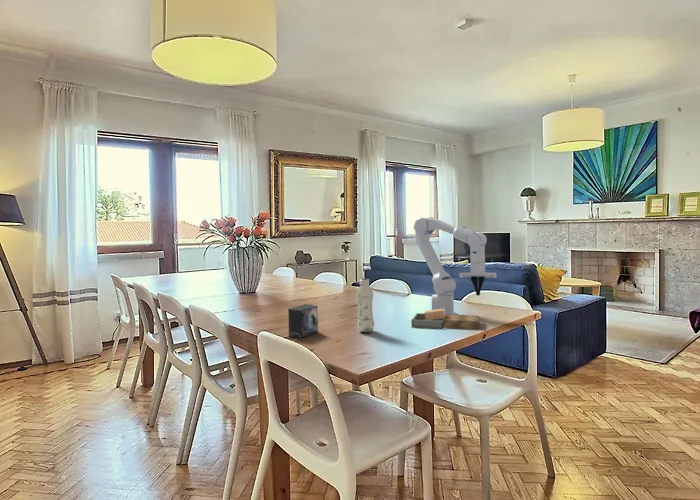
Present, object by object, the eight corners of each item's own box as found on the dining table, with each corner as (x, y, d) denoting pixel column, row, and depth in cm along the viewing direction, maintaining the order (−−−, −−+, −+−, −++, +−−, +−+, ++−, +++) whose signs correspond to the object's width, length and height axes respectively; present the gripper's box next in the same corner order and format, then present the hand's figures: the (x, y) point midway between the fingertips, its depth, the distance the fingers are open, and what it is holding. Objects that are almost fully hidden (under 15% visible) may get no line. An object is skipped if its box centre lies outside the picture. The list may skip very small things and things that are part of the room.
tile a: (433, 319, 171) (432, 311, 171) (434, 316, 175) (433, 309, 175) (444, 318, 170) (443, 310, 170) (445, 315, 174) (444, 308, 174)
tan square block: (433, 323, 171) (426, 323, 172) (435, 320, 176) (427, 321, 177) (432, 312, 171) (424, 312, 172) (433, 309, 176) (426, 310, 177)
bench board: (443, 327, 168) (443, 319, 167) (445, 321, 177) (445, 314, 177) (478, 329, 164) (478, 321, 163) (479, 323, 173) (479, 315, 173)
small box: (302, 338, 158) (300, 310, 157) (288, 336, 161) (286, 308, 160) (319, 332, 167) (318, 305, 166) (305, 330, 170) (304, 303, 169)
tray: (411, 327, 170) (411, 320, 170) (416, 319, 182) (416, 313, 182) (441, 328, 166) (441, 321, 166) (444, 320, 179) (444, 314, 178)
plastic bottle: (376, 330, 167) (375, 278, 166) (371, 334, 160) (370, 280, 159) (360, 329, 169) (359, 278, 168) (355, 333, 163) (353, 280, 161)
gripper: (458, 263, 178) (459, 296, 179) (496, 263, 173) (496, 297, 174) (460, 261, 185) (460, 293, 185) (496, 261, 180) (496, 294, 181)
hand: (478, 295), depth 180 cm, fingers closed
